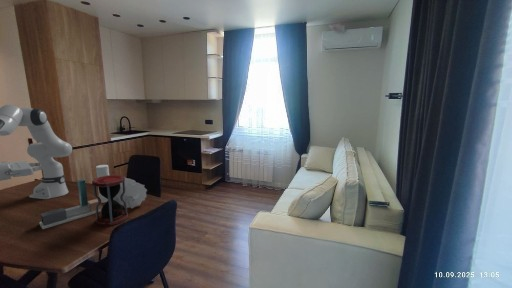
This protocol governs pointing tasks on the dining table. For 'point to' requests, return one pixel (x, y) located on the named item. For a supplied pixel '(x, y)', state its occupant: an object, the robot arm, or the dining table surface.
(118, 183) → the hourglass
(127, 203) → the spiral staircase
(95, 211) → the base board
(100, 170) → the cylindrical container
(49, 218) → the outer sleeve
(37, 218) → the dining table surface
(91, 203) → the salmon pink block
